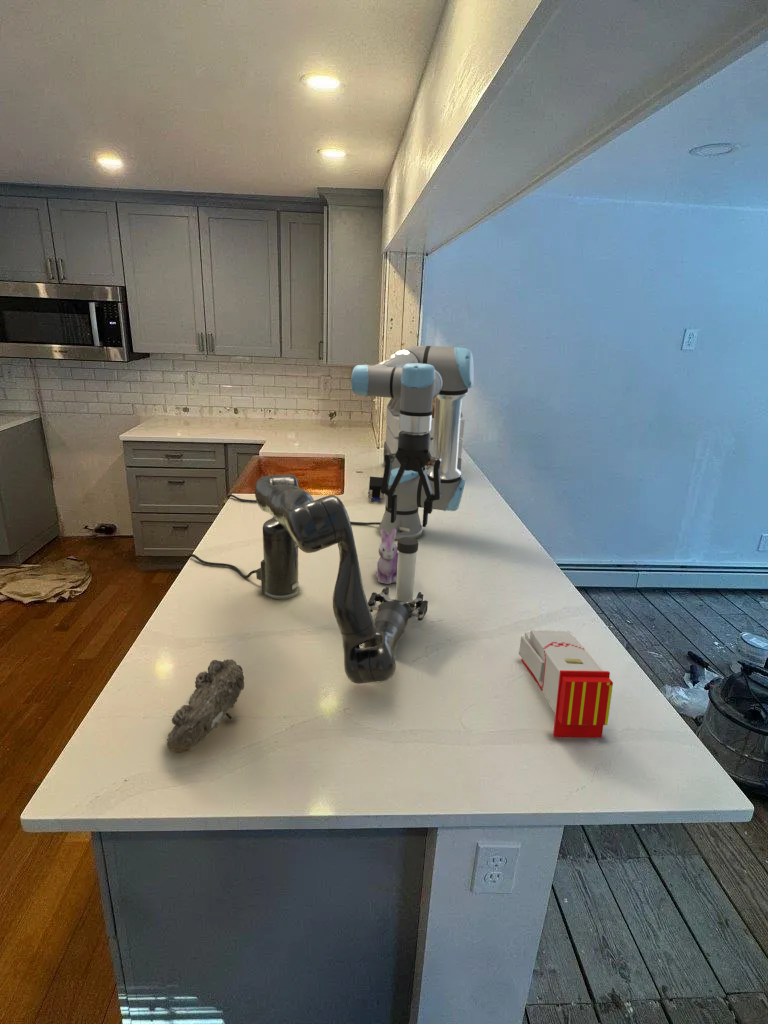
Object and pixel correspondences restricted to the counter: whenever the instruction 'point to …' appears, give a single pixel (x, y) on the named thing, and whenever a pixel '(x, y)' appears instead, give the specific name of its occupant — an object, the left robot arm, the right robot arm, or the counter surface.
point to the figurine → (387, 558)
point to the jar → (405, 576)
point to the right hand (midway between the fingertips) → (409, 522)
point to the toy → (568, 682)
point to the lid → (407, 545)
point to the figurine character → (375, 488)
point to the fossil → (206, 705)
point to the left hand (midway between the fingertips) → (403, 592)
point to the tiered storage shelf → (394, 431)
